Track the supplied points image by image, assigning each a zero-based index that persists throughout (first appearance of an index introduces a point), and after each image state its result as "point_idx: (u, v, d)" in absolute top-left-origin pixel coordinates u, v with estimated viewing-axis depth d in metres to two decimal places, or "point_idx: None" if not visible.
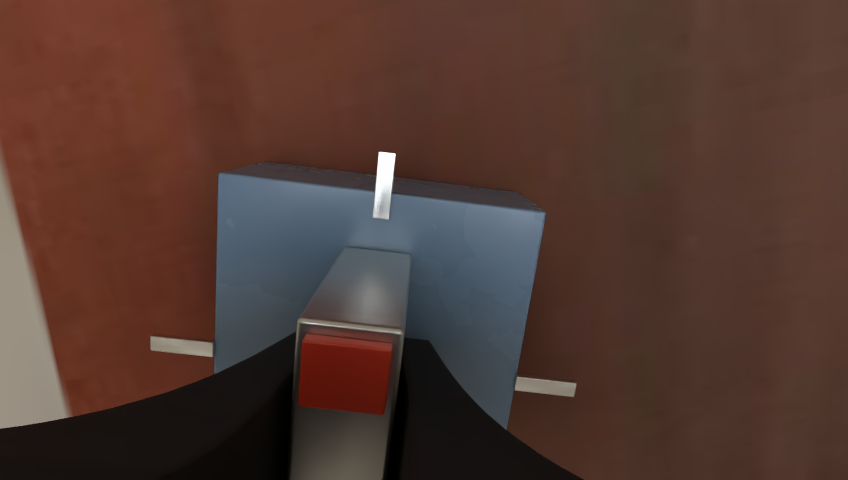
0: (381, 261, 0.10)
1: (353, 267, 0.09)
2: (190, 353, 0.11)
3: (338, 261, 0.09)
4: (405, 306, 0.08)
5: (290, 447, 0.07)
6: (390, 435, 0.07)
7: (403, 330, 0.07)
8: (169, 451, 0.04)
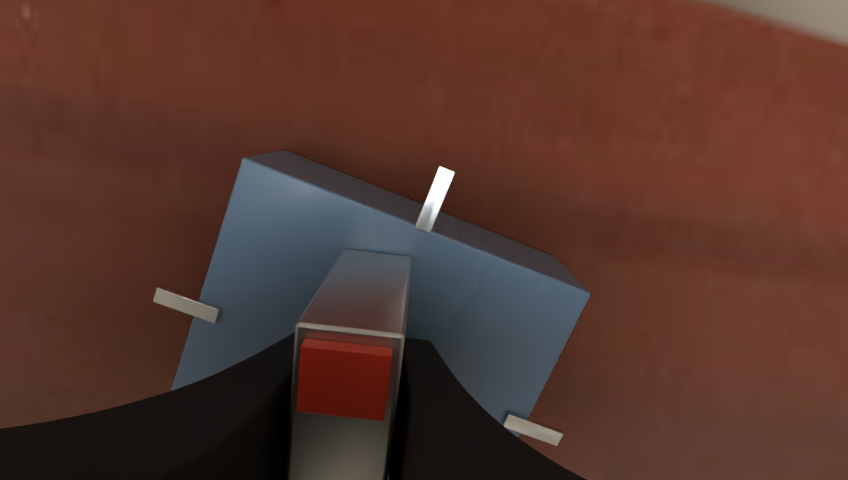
0: (380, 263, 0.10)
1: (353, 269, 0.09)
2: (424, 206, 0.10)
3: (337, 263, 0.09)
4: (405, 309, 0.08)
5: (288, 453, 0.07)
6: (390, 441, 0.07)
7: (403, 334, 0.07)
8: (169, 451, 0.04)
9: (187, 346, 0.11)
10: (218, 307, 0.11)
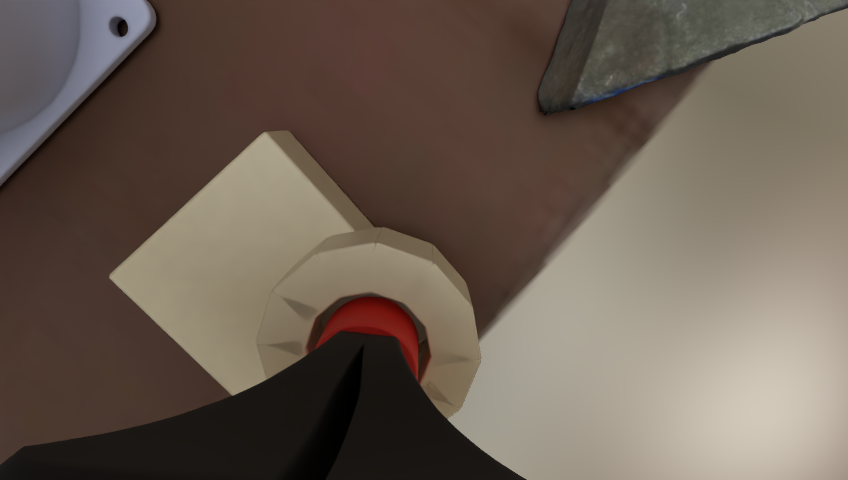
0: None
1: None
2: None
3: None
4: None
5: None
6: None
7: None
8: (252, 460, 0.04)
9: None
10: None
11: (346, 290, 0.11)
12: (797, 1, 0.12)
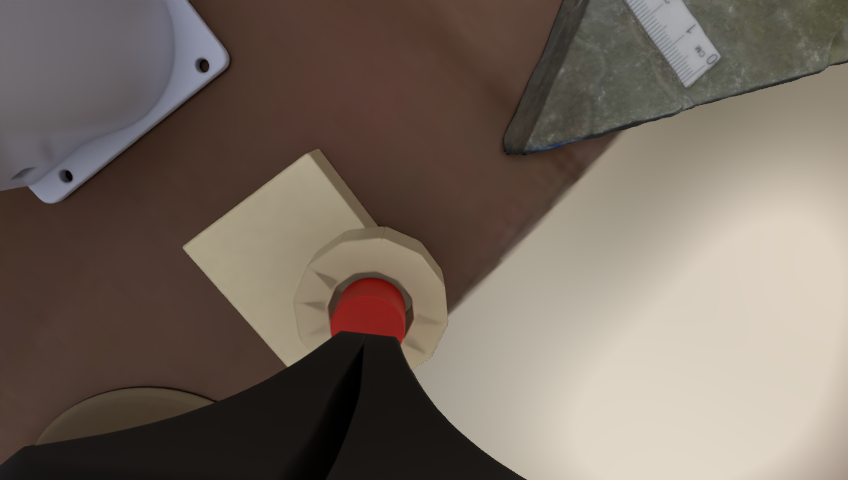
0: None
1: None
2: None
3: None
4: None
5: None
6: None
7: None
8: (252, 460, 0.04)
9: None
10: None
11: (359, 268, 0.17)
12: (679, 96, 0.17)
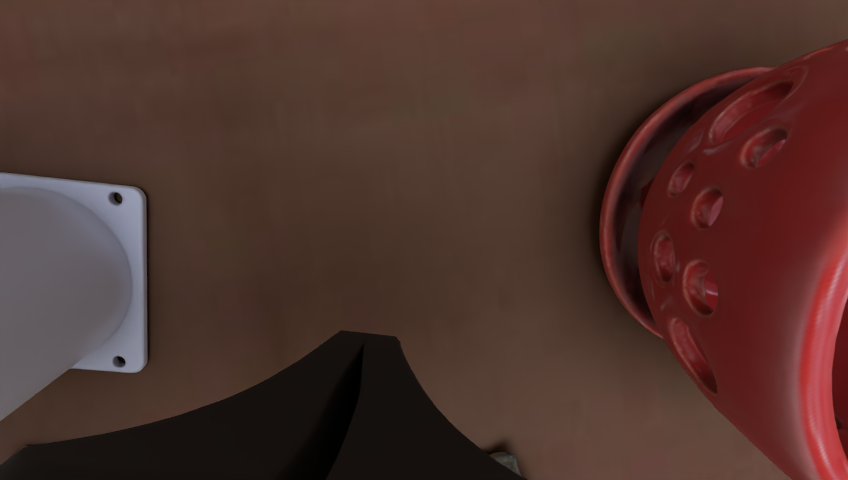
0: None
1: None
2: None
3: None
4: None
5: None
6: None
7: None
8: (253, 460, 0.04)
9: None
10: None
11: None
12: None
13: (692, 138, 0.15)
